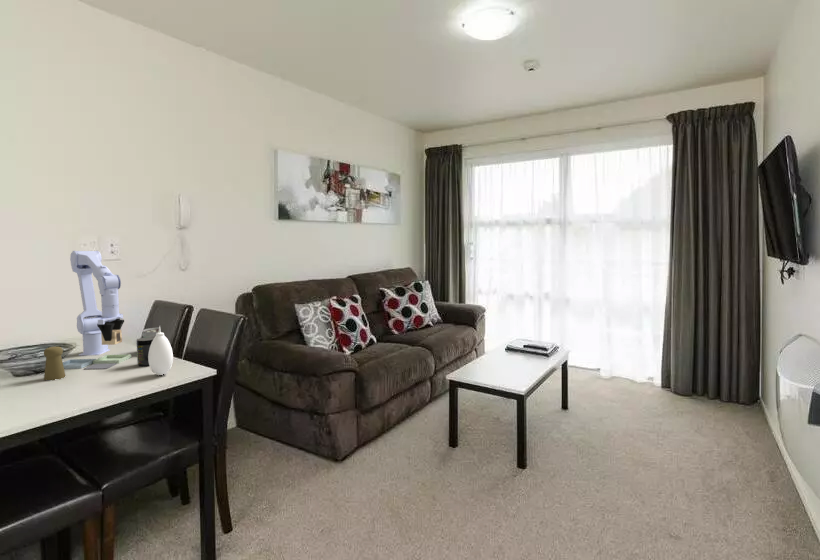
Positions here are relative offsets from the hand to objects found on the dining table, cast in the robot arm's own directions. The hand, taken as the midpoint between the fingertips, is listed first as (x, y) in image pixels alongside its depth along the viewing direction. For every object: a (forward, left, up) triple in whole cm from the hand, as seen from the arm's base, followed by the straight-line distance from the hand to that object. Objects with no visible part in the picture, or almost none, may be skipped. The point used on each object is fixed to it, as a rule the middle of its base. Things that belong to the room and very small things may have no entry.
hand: (111, 339), depth 180 cm
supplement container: (+8, +17, -9) cm, 20 cm away
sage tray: (0, 0, -9) cm, 9 cm away
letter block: (0, 0, -2) cm, 2 cm away
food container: (-13, +9, -9) cm, 18 cm away
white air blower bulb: (+22, +28, -9) cm, 36 cm away
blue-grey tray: (+7, -10, -9) cm, 15 cm away
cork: (+23, -7, -9) cm, 25 cm away
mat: (+10, +1, -9) cm, 13 cm away
